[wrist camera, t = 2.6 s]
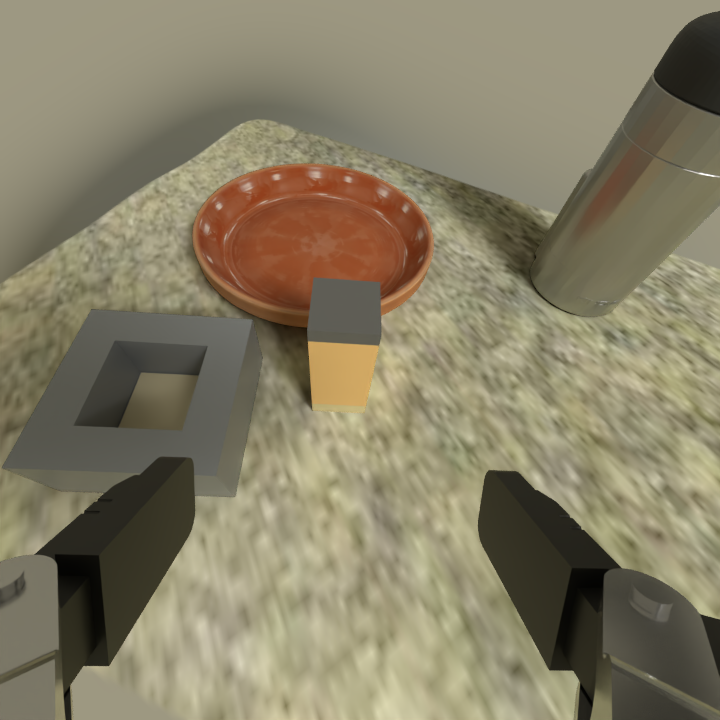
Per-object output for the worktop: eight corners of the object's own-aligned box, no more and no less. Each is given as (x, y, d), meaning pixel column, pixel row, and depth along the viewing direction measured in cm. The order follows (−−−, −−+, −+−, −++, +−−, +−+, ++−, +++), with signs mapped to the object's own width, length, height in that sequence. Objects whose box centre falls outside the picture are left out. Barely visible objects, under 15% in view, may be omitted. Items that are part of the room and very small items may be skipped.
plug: (316, 366, 30) (313, 277, 21) (364, 369, 30) (380, 282, 22) (312, 410, 27) (307, 330, 19) (364, 413, 28) (381, 334, 19)
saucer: (292, 170, 46) (290, 139, 43) (457, 238, 41) (468, 209, 38) (150, 272, 34) (133, 240, 31) (357, 386, 29) (361, 361, 26)
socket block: (125, 350, 29) (91, 309, 25) (262, 358, 30) (252, 319, 25) (60, 491, 23) (1, 468, 19) (235, 496, 24) (216, 476, 19)
